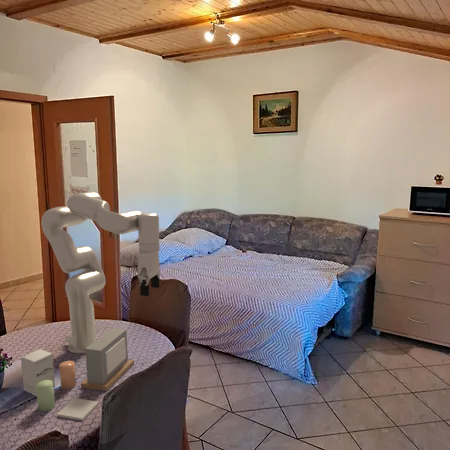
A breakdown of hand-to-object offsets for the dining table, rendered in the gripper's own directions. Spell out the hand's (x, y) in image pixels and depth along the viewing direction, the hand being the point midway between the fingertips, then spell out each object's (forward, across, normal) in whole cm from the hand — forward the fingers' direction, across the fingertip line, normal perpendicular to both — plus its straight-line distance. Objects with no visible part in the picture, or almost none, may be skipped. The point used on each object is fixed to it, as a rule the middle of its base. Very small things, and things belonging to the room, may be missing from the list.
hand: (150, 291), depth 159 cm
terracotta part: (+29, +21, -22) cm, 42 cm away
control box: (+29, +12, -12) cm, 34 cm away
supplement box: (+30, +26, -31) cm, 50 cm away
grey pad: (+29, +34, -10) cm, 46 cm away
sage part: (+29, +34, -22) cm, 50 cm away
